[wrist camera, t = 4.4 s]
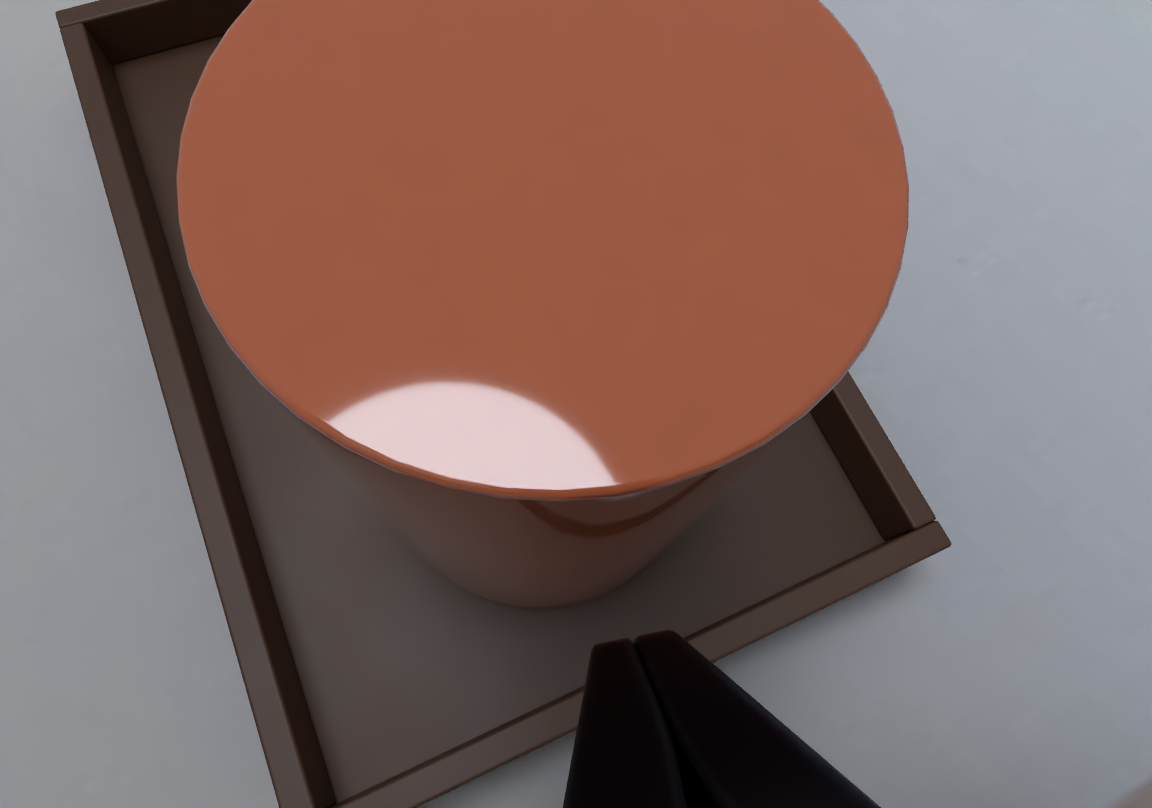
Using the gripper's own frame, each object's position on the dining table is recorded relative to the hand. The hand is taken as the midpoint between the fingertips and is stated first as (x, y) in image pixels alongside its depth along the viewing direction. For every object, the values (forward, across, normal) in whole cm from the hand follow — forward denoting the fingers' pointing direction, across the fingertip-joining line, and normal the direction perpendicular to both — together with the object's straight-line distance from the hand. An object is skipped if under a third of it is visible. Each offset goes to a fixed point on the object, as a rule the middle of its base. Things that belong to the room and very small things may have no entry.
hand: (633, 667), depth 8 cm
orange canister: (+10, 0, +3) cm, 10 cm away
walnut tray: (+14, +1, 0) cm, 14 cm away
